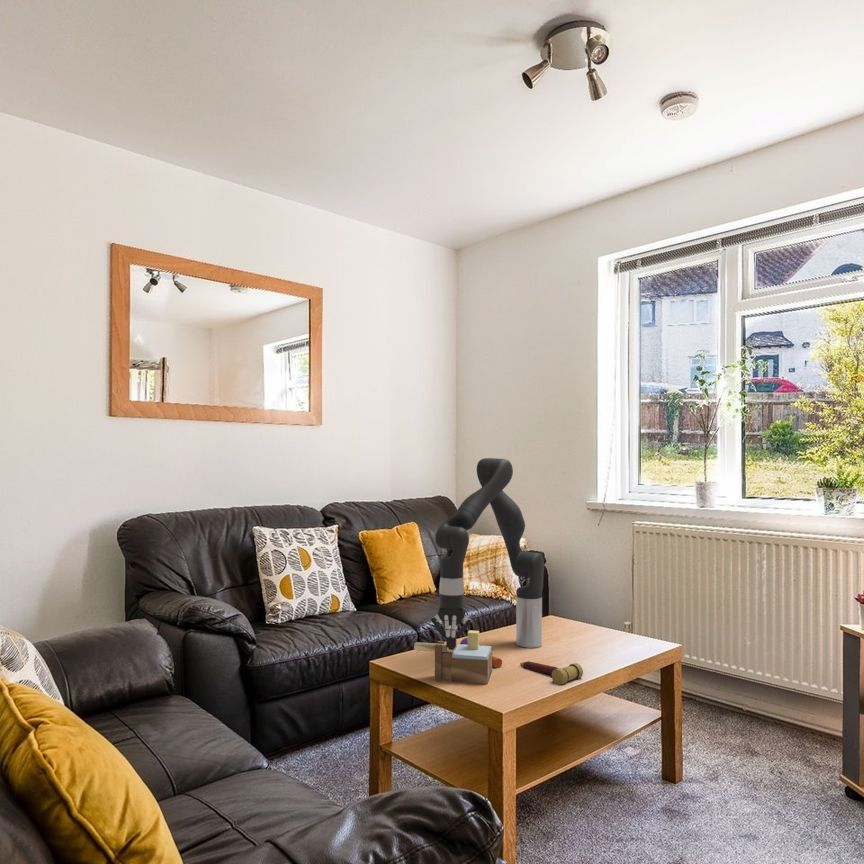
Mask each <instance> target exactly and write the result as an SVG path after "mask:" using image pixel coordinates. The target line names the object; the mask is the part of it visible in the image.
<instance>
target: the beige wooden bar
mask: <svg viewBox="0 0 864 864" xmlns="http://www.w3.org/2000/svg"><path fill="white" fill-rule="evenodd" d="M435 644H437V643H436V642H435V643H433V642H432V643H431V642H420V641H416V642H415V643H414V646H413V650H414V651H421V652H422V651H423V652H434V653H435ZM439 645H442V652H447V651H449V649H448V648H447V646H446V643H444V644H439Z"/></svg>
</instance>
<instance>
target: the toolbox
mask: <svg viewBox="0 0 864 864" xmlns="http://www.w3.org/2000/svg"><path fill="white" fill-rule="evenodd" d="M439 644H445V641H444V640H437V643H436V644H435V652H434V681H435V682H436V681H437V682H442V681H451V682H456V683H457V682H458V683H466V684H467V683H470V684H481V685H482V684H483V685H488V683H489V682H490V678H491V676H492V673H493V666H492V656H493V649H492V648H491V652H490V654H489V657H488V659H487V660H478V659H463V658H452V654H453V652H454V650H447V652H442V645H439Z"/></svg>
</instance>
